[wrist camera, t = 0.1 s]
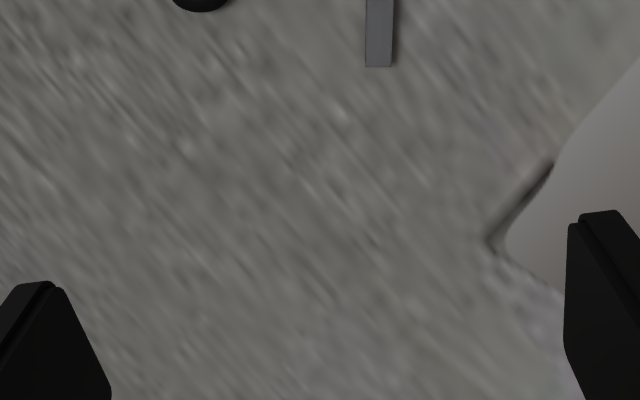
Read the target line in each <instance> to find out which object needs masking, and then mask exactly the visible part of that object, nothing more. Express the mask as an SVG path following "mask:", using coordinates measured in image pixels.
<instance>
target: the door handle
mask: <svg viewBox="0 0 640 400" xmlns="http://www.w3.org/2000/svg"><path fill="white" fill-rule="evenodd" d="M226 1H227V0H173V2H174V3H175V4H176V5H178V6H179V7H181V8H183V9H185V10H188V11H191V12H209V11H213V10H216V9H218V8H220V7H221V6H222V5H224V4H225V3H226ZM393 6H394V0H366V35H365V64H366V67H391V52H392V29H393Z"/></svg>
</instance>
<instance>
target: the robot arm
mask: <svg viewBox="0 0 640 400" xmlns="http://www.w3.org/2000/svg"><path fill="white" fill-rule="evenodd" d="M563 342H564V349H565V353H566V356H567V359H568V361H569V363H570V365H571V368H572V370H573V372H574V374H575V377H576V379H577V381H578V383H579V386H580V388H581V390H582V392H583V395H584V397H585V399H586V400H640V239H639V238H638V236H637V235H636V234H635V232H634V231H633V230H632V228H631V227H630V226H629V224H628V223H627V222H626V221H625V219H624V218H623V217H622V215H621V214H620V213H619V212H618V211H617V210H608V211H601V212H592V213H584V214H581V215H580V216H579V219H578V223H572V224H570V225H569V227H568V238H567V260H566V283H565V306H564V329H563ZM111 397H112V392H111V386H110V384H109V382H108V379H107V377H106V375H105V373H104V371H103V369H102V367H101V365H100V363H99V361H98V359H97V357H96V355H95V353H94V351H93V349H92V346H91V344H90V342H89V340H88V338H87V336H86V334H85V332H84V330H83V328H82V326H81V324H80V322H79V320H78V318H77V316H76V313H75V311H74V309H73V307H72V305H71V303H70V301H69V299H68V297H67V295H66V293H65V291H64V290H63V289H62V288H61V287H56V286H55V284H53V283H52V282H51V281H41V282H33V283H25V284H19V285H17V286H16V287H15V288H14V289H13V290H12V291H11V292H10V294H9V295H8V297H7V298H6V299H5V301H4V302H3V303H2V305H1V306H0V400H111Z"/></svg>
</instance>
